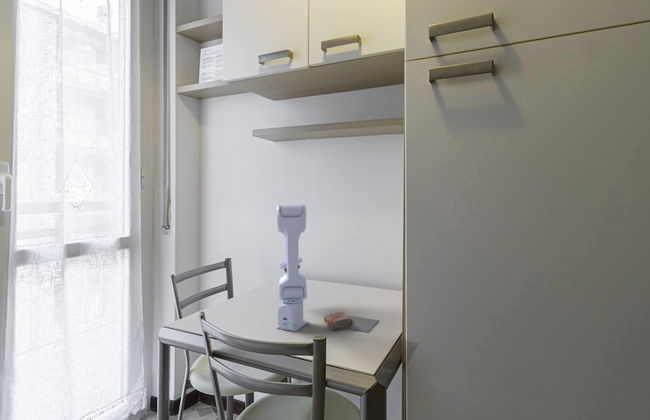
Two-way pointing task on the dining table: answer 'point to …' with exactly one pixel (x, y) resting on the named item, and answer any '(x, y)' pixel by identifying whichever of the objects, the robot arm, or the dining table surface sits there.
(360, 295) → the dining table surface
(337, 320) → the lighter
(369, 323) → the mat
